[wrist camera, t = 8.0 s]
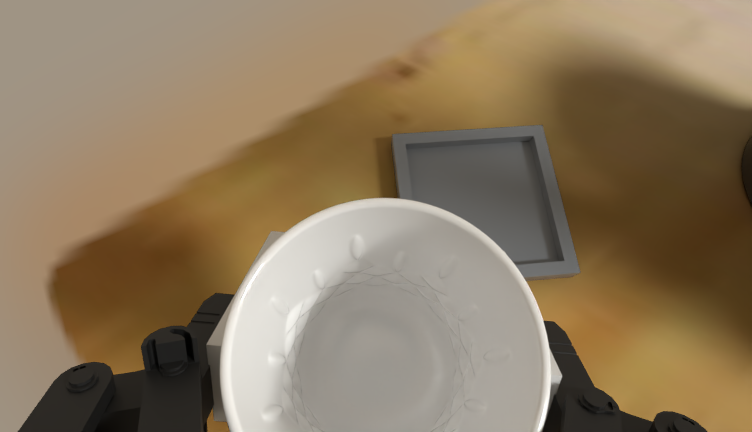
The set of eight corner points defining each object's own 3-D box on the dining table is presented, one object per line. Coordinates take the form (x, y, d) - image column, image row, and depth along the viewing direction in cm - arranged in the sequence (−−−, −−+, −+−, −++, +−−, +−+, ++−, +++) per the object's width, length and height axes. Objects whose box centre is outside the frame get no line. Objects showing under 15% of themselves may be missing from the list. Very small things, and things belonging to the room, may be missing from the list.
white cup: (260, 323, 20) (174, 273, 11) (412, 251, 22) (449, 153, 12) (331, 501, 18) (297, 630, 9) (495, 408, 19) (619, 432, 10)
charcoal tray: (535, 134, 40) (542, 124, 38) (571, 277, 35) (580, 272, 34) (391, 143, 39) (392, 134, 37) (408, 291, 34) (410, 287, 33)
